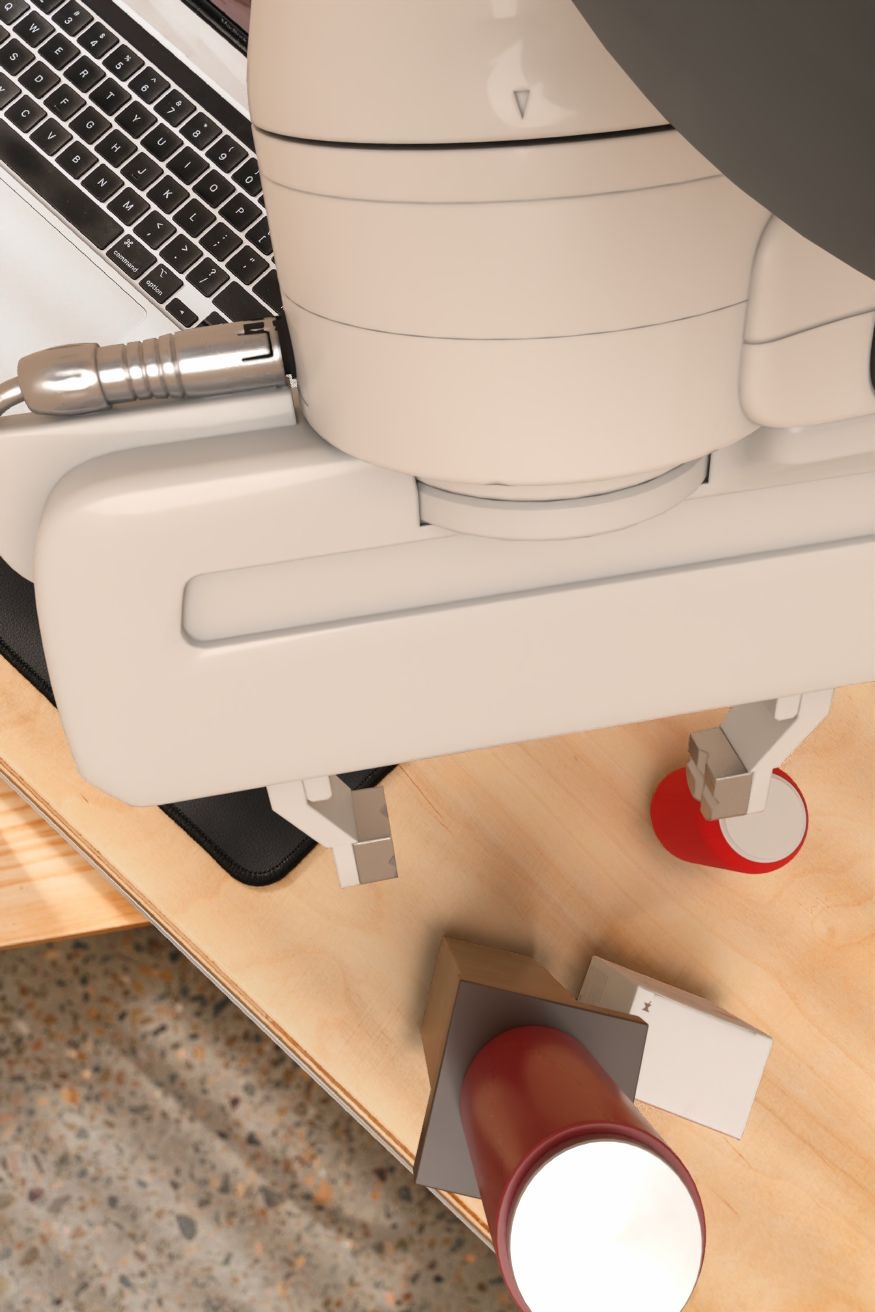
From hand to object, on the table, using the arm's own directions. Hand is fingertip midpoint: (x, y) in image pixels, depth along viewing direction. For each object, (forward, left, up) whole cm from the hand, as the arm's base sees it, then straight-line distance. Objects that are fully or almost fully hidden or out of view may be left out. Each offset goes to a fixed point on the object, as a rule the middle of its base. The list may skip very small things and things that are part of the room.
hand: (548, 831), depth 25 cm
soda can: (-5, +10, -16) cm, 19 cm away
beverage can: (-16, -4, -38) cm, 41 cm away
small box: (-15, +10, -38) cm, 42 cm away
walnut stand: (-5, +10, -38) cm, 39 cm away
